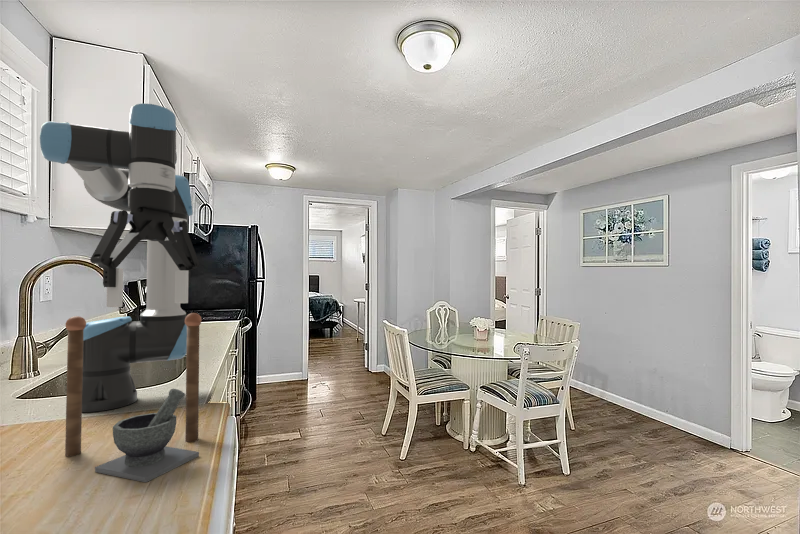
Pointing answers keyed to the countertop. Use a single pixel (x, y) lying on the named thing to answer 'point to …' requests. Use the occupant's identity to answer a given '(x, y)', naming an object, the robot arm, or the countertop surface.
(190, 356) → the post
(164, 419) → the mortar and pestle
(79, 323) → the post
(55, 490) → the countertop surface
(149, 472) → the slate pad
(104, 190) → the robot arm
